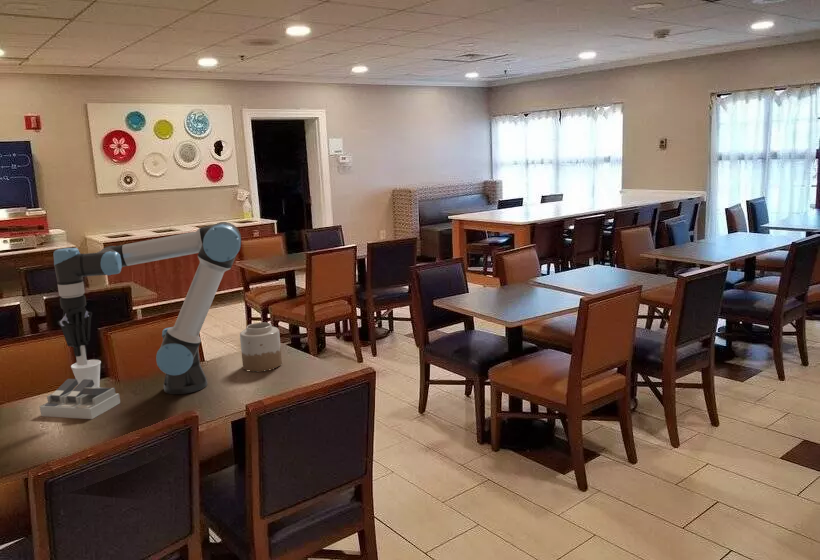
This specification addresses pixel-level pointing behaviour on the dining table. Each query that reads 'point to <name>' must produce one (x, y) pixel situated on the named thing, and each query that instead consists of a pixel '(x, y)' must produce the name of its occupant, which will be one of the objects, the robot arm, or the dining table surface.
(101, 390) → the rocker
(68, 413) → the switch unit
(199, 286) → the robot arm
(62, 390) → the rocker
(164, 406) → the dining table surface
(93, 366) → the cup
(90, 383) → the rocker
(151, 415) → the dining table surface
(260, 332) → the vase
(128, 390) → the dining table surface
